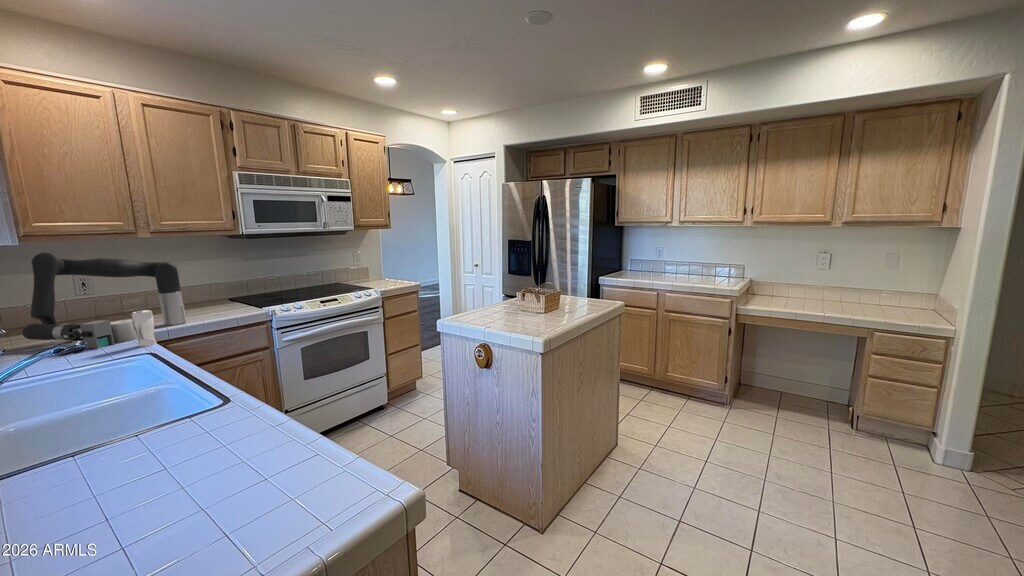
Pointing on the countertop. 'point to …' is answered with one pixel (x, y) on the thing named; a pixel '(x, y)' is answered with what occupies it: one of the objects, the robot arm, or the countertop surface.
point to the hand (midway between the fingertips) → (101, 332)
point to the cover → (97, 332)
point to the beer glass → (144, 327)
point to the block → (102, 341)
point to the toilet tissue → (123, 331)
